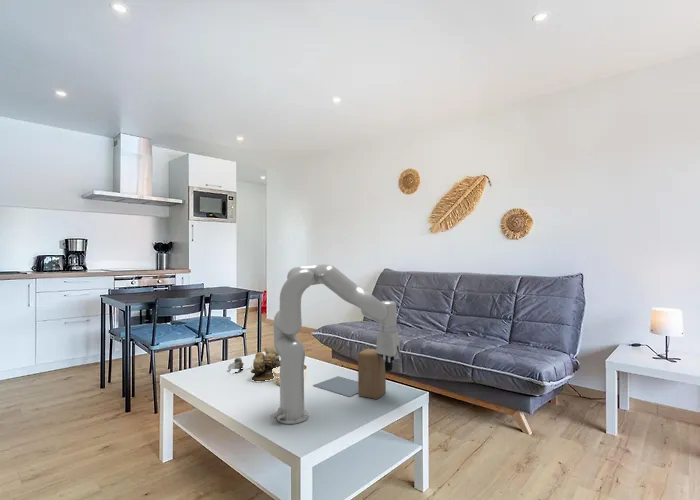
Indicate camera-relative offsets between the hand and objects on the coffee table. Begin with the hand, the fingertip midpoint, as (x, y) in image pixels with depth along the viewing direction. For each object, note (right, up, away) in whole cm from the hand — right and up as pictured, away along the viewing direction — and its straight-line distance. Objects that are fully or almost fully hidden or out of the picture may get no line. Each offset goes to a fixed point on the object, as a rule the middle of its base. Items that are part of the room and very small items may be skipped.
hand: (388, 370), depth 176 cm
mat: (-20, -13, +18) cm, 30 cm away
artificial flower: (-74, -15, +47) cm, 89 cm away
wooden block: (-7, -13, +6) cm, 16 cm away
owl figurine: (-61, -14, +33) cm, 71 cm away
